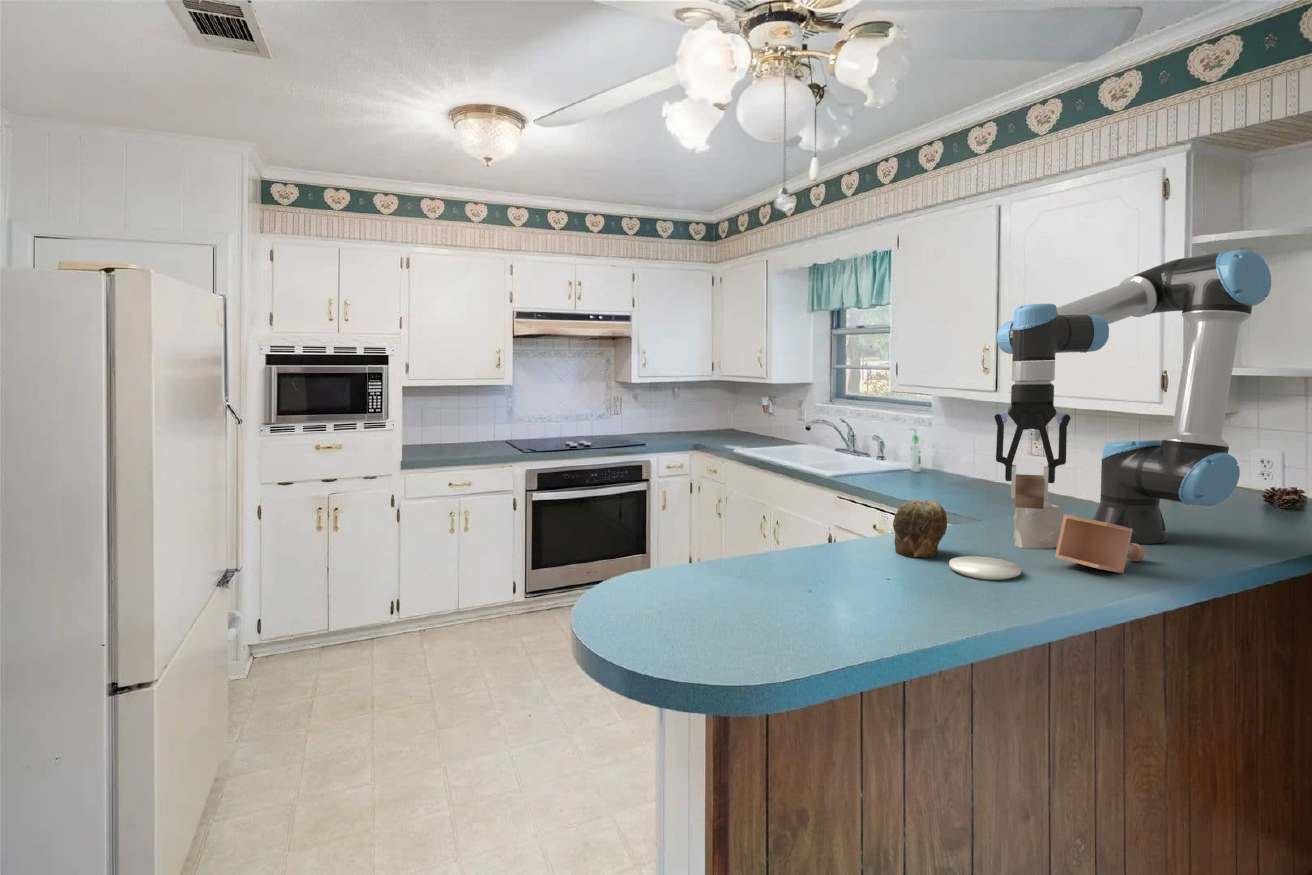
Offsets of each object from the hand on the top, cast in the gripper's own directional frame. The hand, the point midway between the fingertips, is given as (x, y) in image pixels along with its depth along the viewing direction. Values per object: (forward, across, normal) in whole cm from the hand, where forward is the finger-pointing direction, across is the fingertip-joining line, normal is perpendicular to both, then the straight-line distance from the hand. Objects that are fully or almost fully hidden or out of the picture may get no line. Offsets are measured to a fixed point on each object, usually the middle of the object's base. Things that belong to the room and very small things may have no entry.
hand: (1028, 497), depth 141 cm
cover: (+8, -9, 0) cm, 12 cm away
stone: (+15, -2, -20) cm, 25 cm away
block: (+2, 0, 0) cm, 2 cm away
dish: (+14, +8, +7) cm, 18 cm away
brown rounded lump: (+14, +21, -2) cm, 25 cm away
